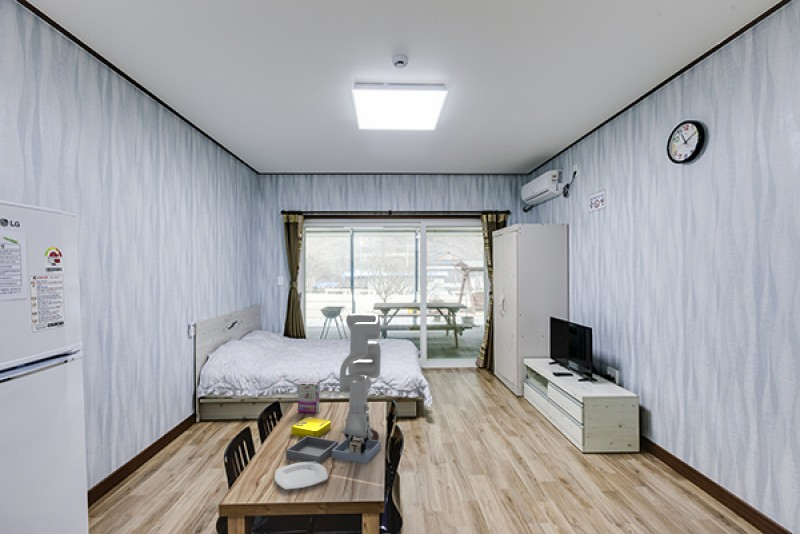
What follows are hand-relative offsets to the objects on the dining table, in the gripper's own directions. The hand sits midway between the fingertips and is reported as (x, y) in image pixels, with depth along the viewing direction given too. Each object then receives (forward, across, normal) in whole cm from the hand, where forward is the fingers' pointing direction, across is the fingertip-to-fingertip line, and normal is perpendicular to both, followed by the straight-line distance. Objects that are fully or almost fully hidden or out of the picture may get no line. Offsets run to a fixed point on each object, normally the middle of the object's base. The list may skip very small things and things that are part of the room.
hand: (357, 450), depth 168 cm
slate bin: (+2, 0, 0) cm, 2 cm away
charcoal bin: (+2, +18, +7) cm, 19 cm away
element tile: (+2, +32, -14) cm, 35 cm away
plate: (+2, +11, +26) cm, 29 cm away
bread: (+2, +3, -16) cm, 16 cm away
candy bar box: (+2, +49, -38) cm, 62 cm away
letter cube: (+1, 0, 0) cm, 1 cm away
